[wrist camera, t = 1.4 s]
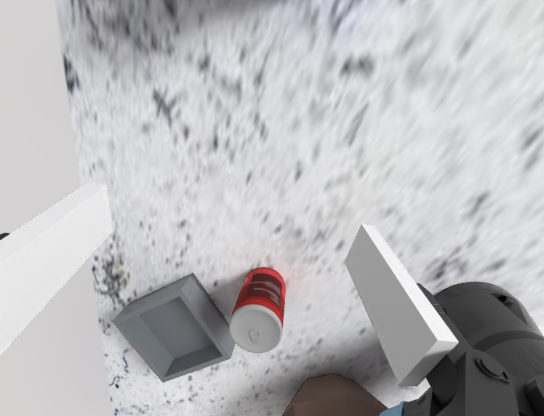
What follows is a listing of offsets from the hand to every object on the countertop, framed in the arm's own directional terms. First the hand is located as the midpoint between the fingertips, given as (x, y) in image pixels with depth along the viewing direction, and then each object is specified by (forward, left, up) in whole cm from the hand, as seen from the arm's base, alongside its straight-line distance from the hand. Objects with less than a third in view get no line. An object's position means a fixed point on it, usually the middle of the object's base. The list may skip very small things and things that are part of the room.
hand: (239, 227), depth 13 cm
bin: (-18, +32, -26) cm, 45 cm away
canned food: (-18, +13, -27) cm, 35 cm away
